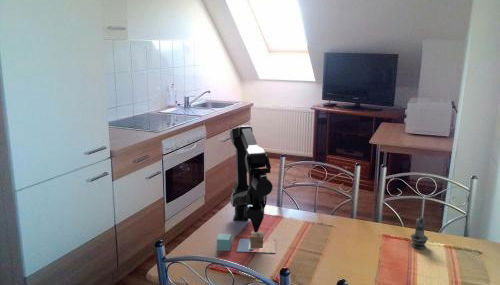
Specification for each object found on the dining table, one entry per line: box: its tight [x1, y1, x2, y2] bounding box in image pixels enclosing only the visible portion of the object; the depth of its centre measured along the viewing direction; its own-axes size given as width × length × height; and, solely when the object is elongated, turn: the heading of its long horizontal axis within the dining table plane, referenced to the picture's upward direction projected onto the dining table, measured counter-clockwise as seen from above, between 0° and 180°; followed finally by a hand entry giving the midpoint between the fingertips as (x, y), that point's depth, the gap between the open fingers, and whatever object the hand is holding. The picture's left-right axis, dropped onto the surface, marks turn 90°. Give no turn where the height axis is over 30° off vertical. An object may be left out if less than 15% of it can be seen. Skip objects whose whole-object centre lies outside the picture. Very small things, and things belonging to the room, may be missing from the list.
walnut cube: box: [249, 230, 264, 248], centre depth 153 cm, size 4×4×4 cm
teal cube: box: [216, 233, 232, 252], centre depth 152 cm, size 4×4×4 cm
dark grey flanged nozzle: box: [410, 215, 429, 251], centre depth 151 cm, size 6×6×12 cm
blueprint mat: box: [236, 238, 259, 253], centre depth 154 cm, size 10×14×1 cm
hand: (257, 226), depth 152 cm, fingers open, 9 cm apart
